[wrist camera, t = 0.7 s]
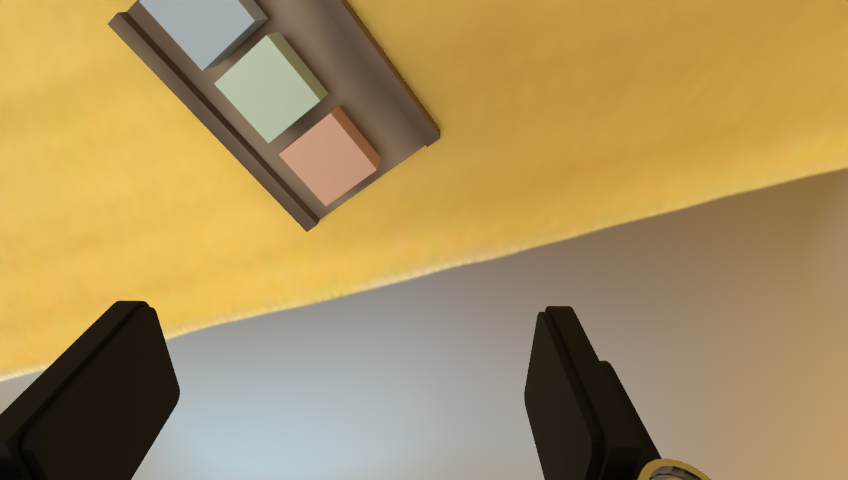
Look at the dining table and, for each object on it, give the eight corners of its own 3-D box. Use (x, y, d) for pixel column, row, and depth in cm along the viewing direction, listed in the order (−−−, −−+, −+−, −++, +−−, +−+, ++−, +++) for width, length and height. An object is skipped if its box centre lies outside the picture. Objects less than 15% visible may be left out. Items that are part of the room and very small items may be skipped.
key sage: (278, 31, 31) (266, 35, 28) (328, 93, 33) (320, 100, 30) (229, 77, 32) (213, 83, 30) (279, 133, 34) (268, 143, 32)
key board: (258, -122, 29) (245, -130, 27) (440, 130, 36) (440, 138, 34) (126, 22, 33) (107, 24, 31) (313, 220, 41) (306, 232, 39)
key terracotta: (337, 104, 33) (330, 113, 31) (380, 158, 35) (377, 169, 33) (288, 144, 34) (278, 154, 32) (332, 193, 36) (325, 206, 34)
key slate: (210, -53, 28) (191, -57, 26) (268, 18, 30) (254, 20, 28) (160, 0, 30) (138, 1, 28) (218, 65, 32) (202, 71, 30)
